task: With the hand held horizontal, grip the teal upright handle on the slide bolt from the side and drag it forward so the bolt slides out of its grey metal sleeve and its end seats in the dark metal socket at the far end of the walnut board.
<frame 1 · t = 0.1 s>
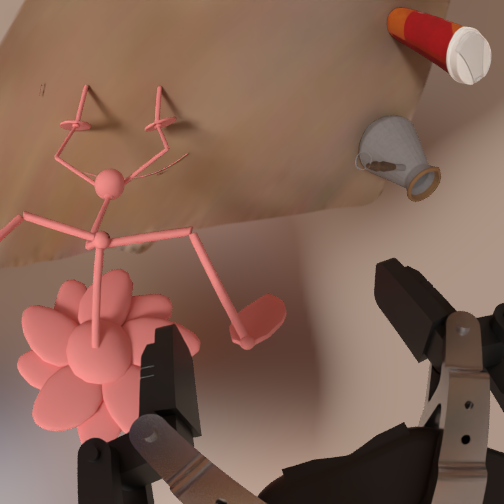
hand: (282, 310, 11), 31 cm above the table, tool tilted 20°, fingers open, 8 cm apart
coffee pot: (360, 126, 43), on the table
figurine 2: (117, 132, 34), on the table
paper cup: (400, 23, 29), on the table
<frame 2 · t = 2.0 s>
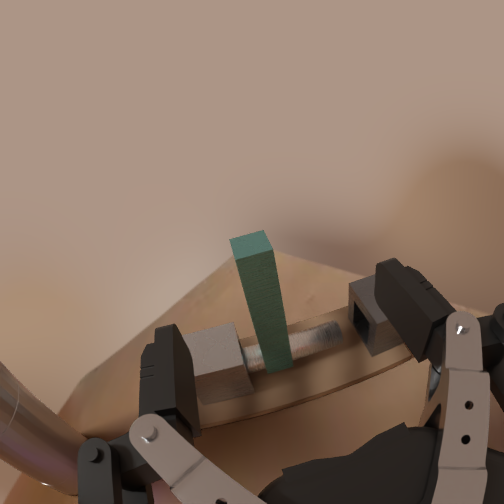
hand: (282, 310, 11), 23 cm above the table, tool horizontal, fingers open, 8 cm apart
walnut board: (299, 362, 35), on the table
sleeve and socket: (298, 342, 33), on the walnut board, point 4 cm above the table
slide bolt: (246, 318, 29), point 10 cm above the table, slide at 0.0 cm
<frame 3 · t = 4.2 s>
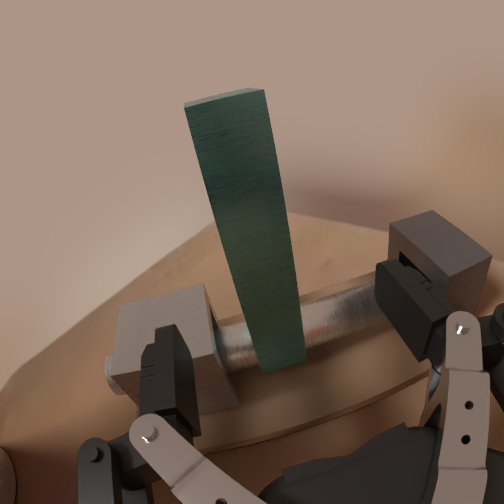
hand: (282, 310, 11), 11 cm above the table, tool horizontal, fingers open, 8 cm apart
walnut board: (314, 354, 21), on the table
sleeve and socket: (314, 317, 19), on the walnut board, point 4 cm above the table
slide bolt: (218, 264, 16), point 10 cm above the table, slide at 0.0 cm
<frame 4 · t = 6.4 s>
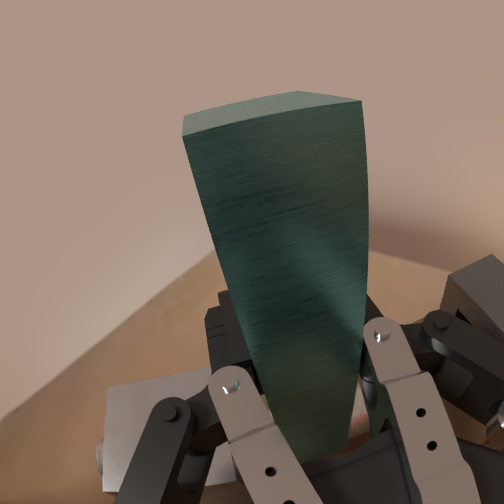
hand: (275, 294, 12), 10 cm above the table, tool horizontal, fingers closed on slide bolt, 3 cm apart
walnut board: (349, 431, 16), on the table
sleeve and socket: (358, 403, 14), on the walnut board, point 4 cm above the table
slide bolt: (243, 372, 10), point 10 cm above the table, slide at 0.0 cm, touching gripper
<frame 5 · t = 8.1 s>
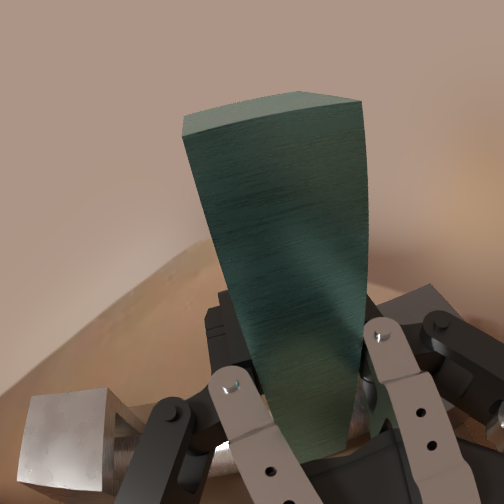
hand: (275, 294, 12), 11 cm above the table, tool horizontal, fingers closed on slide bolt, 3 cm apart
walnut board: (254, 461, 15), on the table
sleeve and socket: (244, 440, 13), on the walnut board, point 4 cm above the table
slide bolt: (243, 372, 10), point 10 cm above the table, slide at 6.1 cm, touching gripper
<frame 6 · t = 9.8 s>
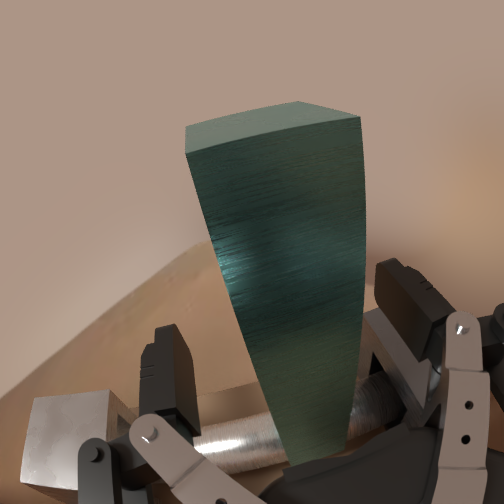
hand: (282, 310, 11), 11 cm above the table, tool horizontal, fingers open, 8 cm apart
walnut board: (254, 462, 16), on the table
sleeve and socket: (244, 441, 13), on the walnut board, point 4 cm above the table
slide bolt: (244, 375, 10), point 10 cm above the table, slide at 6.1 cm
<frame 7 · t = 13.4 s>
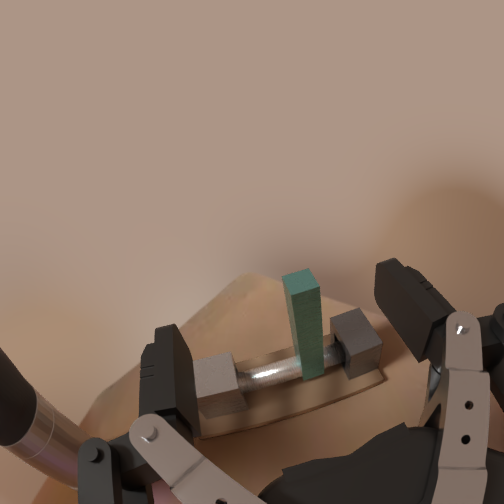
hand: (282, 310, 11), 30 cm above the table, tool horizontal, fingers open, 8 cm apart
walnut board: (286, 383, 40), on the table
sleeve and socket: (285, 368, 38), on the walnut board, point 4 cm above the table
slide bolt: (290, 337, 35), point 10 cm above the table, slide at 6.1 cm
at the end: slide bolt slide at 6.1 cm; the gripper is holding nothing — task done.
